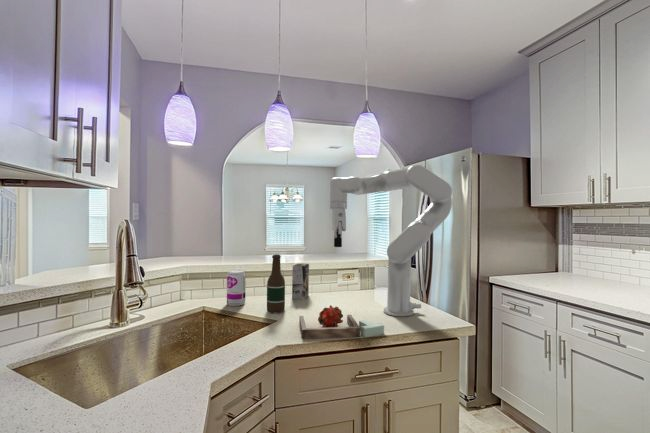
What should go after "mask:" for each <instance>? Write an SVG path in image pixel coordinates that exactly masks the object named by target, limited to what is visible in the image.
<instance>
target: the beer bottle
mask: <svg viewBox="0 0 650 433" xmlns="http://www.w3.org/2000/svg"><path fill="white" fill-rule="evenodd" d="M281 256H282V255H280V254H273V255H272V256H271V258H272V264H271V273H270V275H269V276H268V279H267V281H266V282H267V284H266V312H267V313H270V314H279V313H283V312H284V311H285V307H286V306H285V304H286V303H285V302H286V281H285V280H286V279H285V277H284V276H283V274H282V270H281Z"/></svg>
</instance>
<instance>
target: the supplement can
mask: <svg viewBox="0 0 650 433" xmlns="http://www.w3.org/2000/svg"><path fill="white" fill-rule="evenodd" d="M246 276H247V275H246V273H245V270H242V269H232V270H229V271H228V272H227V274H226V304H227V306H229V307H230V306H231V307H240V305H241V306H243V305H244V304H246V283H247V282H246V280H247V279H246Z"/></svg>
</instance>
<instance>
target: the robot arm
mask: <svg viewBox="0 0 650 433" xmlns="http://www.w3.org/2000/svg"><path fill="white" fill-rule="evenodd" d="M329 184H330V186H329V187H330V188H329V190H330V191H329V192H330V194H329V209H331V211H332V214H331V230H333V233H334V238H333V247H334V248H342V246H343V243H342V242H343V241H342V240H343V232H346V231H347V219H346V218H347V215H346V210H347V209H348V194H351V195H356V196H359V195H368V194H369V195H370V194H375V193H381V192H384V193H386V192H390V191H399V190H404V189H414V188H416V189H417V190H418V191H420V192H421V193H423V194H424V195H425V196H427V197H429V198H430V204H429V205H428V207H427V208H426V209H425V210H424V211H423V212H422V213H421V214H420V215H419V216H418V217H417V218H416V219H415V220H414V221H412V222H410V224H408V226H407V227H406V228H405V229H404V230H403V231H402V232H401V233H399V235H398V236H397V237H396V238H395V239H393V240H392V241H390V243H389V244H388V246H387V249H386V255H387V257H388V261H387V262H388V263H387V265H388V266H387V269H388V270H387V298H386V299H387V300H386V301H387V302H386V303H387V305H386V306H385V307H384V308H383V312H384V314H386V315H389V316H392V317H393V316H394V317H402V318H403V317H411V316H413V315H414V314H415V310H414V309H418V310H419V309H422V304H421V303H416V302H412V301H411V282H412V281H411V277H412V258H413V256H415V255H416V254H417V253H418V251H420V250H421V249H422V248H423V246H426V243H427V242H428V241H429V240H430V238H431V235H432V234H433V233H434V232H435V231H436V230H437V229H438V228H439V226H440V225H442V224H443V222H444V221H446V219H447V218H448V216H449V215H450V212H451V211H452V204H453V199H452V195H453V188H452V186H451V184H450V183H448V182H447V181H446V180H444V179H443V178H441V177H440V176H438V175H437V174H436V173H434V172H432V171H430V170H429V169H427V168H426V167H424V166H423V165H420V164H414V165H411V166H409V167H406V168H400V169H394V170H393V169H391V170H387V171H383V172H382V173H380V174H376V175H373V176H368V177H358V176H348V177H341V176H339V177H336V176H335V177H332V178H331V179H330V183H329Z"/></svg>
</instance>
